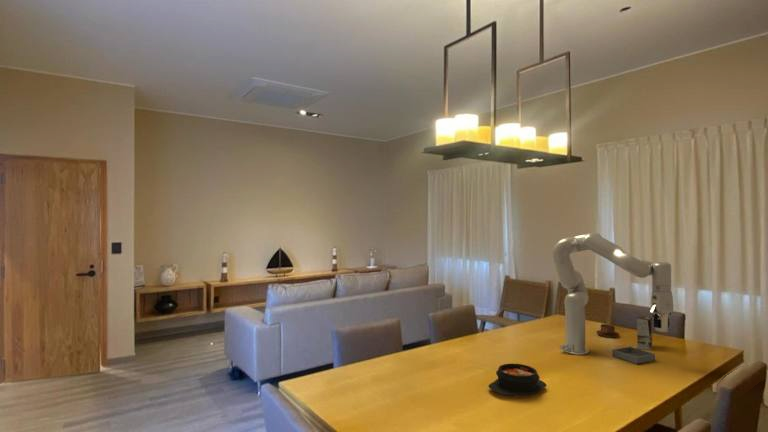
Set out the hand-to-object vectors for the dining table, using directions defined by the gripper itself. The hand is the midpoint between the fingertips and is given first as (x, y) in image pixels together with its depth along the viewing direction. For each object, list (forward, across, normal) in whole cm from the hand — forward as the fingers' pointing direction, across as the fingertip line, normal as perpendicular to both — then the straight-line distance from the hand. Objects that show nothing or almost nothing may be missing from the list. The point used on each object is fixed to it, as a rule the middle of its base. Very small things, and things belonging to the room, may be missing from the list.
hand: (661, 326), depth 197 cm
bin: (+19, -2, +13) cm, 23 cm away
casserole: (+20, -81, +6) cm, 83 cm away
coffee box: (+19, +21, +23) cm, 37 cm away
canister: (+2, 0, 0) cm, 2 cm away
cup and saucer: (+20, +23, +47) cm, 56 cm away
